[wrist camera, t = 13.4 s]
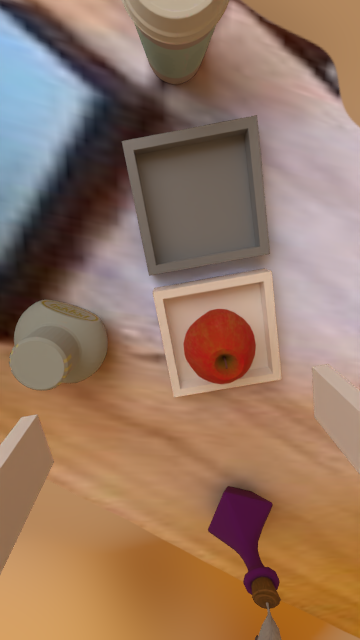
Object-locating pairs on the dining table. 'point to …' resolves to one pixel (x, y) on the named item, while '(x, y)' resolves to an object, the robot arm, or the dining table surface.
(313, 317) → the dining table surface
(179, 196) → the grey square tray
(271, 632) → the perfume bottle
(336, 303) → the dining table surface
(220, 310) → the apple
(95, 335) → the air freshener
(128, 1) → the coffee cup
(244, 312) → the beige square dish
